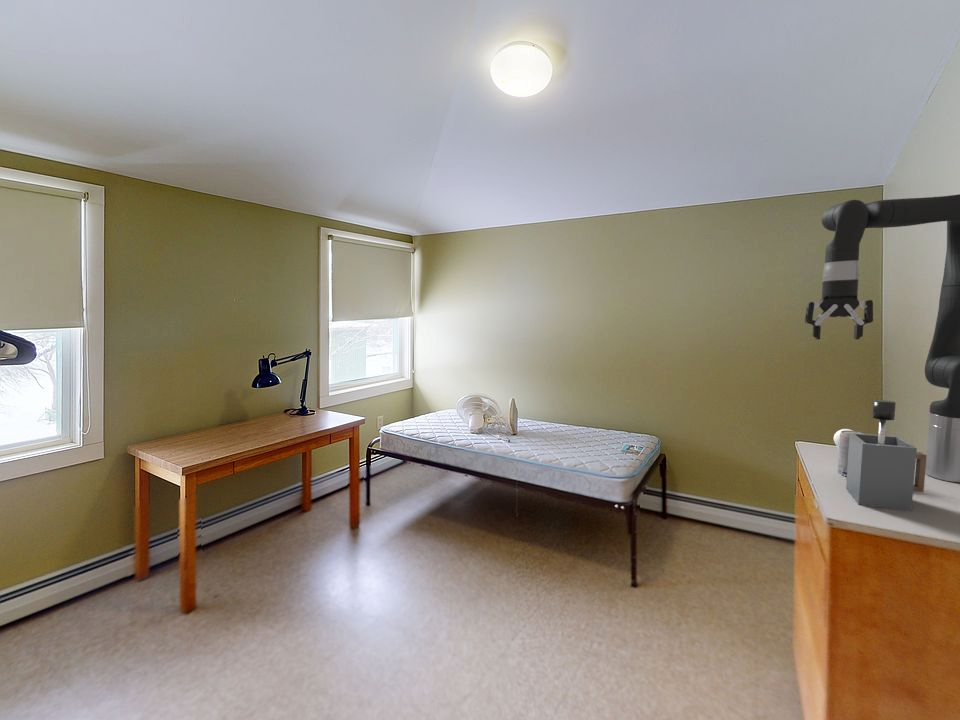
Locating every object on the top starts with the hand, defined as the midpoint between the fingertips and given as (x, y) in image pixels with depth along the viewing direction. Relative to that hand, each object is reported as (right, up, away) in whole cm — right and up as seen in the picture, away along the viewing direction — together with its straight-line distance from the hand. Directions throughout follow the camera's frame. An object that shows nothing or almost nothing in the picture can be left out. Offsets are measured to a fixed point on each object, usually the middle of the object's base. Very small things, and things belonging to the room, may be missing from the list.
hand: (836, 339), depth 121 cm
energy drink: (+6, -38, +3) cm, 39 cm away
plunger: (0, -36, -13) cm, 39 cm away
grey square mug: (+1, -40, -13) cm, 42 cm away
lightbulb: (+11, -37, +10) cm, 40 cm away
